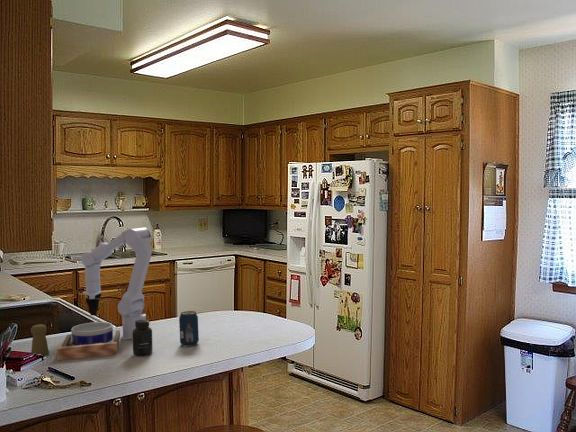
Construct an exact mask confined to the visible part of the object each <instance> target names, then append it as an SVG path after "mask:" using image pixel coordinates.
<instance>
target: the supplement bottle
mask: <svg viewBox="0 0 576 432" xmlns="http://www.w3.org/2000/svg"><path fill="white" fill-rule="evenodd" d="M135 327H136V328H135V329H134V330H133V339H132V354H133V356H134V357H148V356H151V355H152V354H153V351H154V350H153V348H154V347H153V346H154V345H153V329H152V327H150V320H149V319H146V320H137V321H135Z"/></svg>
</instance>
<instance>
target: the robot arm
mask: <svg viewBox="0 0 576 432" xmlns="http://www.w3.org/2000/svg"><path fill="white" fill-rule="evenodd" d="M152 240H153V234H152V233H151V231H150V229H148V227H146V226H142V227H137V228H127V229H126V230H124V231H122V232H121V233H120V234H119V235H117V236H116V237H115V238H113V239H112V240H110V241H109V242H100V243H99V244H98V246H96V247H95V248H94V247H93V248H91V249H90V251H85V252H84V253H83V254H82V255H81V258H80V261H81V263H82V264H83V266H84V274H85V275H84V277H85V291H83V292H82V294H83V295H87V298H86V297H85V299H84V300H85V303H86V304H87V306H88V311H89V314H90V316H97V313H98V311H99V304H100V300H101V298H102V297H101V296H102V288H101V287H102V286H101V270H100V269H101V267H102V266H101V264H102V262H103V260H105V259H107V258H108V257H110V256H112V255H113V253H114V251H115V249H117V248H119V247H121V246H123V245H125V244H126V245H128V246H129V248H130V249H132V251H133V252H134V253H135V254H136V256H135V259H134V264H133V267H132V272H131V276H130V279H129V283H128V286H127V290H126V292H125V293H124V294H123V295H122V297H121V299H120V301H119V302H118V304H117V311H118V313H119V314H120V316H121V318H122V319H121V321H122V334H121V340H122V341H123V340H133V330H134V329H135V328H136V327H135V321H137V320H147V315H146V313H143V312H142V311H143V309H144V308H145V297H146V296H145V295H144V294H143V293H142V292H143V289H144V284H145V280H146V277H147V273H148V269H149V265H150V261H151V258H152V257H151V256H152V254H153V249H152V248H153V247H152Z"/></svg>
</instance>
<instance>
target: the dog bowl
mask: <svg viewBox="0 0 576 432" xmlns="http://www.w3.org/2000/svg"><path fill="white" fill-rule="evenodd" d="M113 326H114V325H113V324H112V323H111V322H107V321H94V322H85V323H81V324H78V325H74V326H72V327H71V329H70V332H71V343H72V346H77V345H88V344H99V343H108V342H110V341H111V342H113V341H114V331H113V330H114V329H113V328H114V327H113Z"/></svg>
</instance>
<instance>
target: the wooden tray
mask: <svg viewBox="0 0 576 432" xmlns="http://www.w3.org/2000/svg"><path fill="white" fill-rule="evenodd" d="M120 336H121V331H120V329H118V330H115V334H114V337H113V341H111V342H109V343H99V344H88V345H77V346H75V345H70V344H71V342H72V334H66V336H65V338H64V340H63V343H61V345H60V346H58V347H57V348H56V361H60V360H61V361H62V360H74V359H81V358H93V357H103V356H104V357H105V356H113V355H118V351H119V343H120ZM69 343H70V344H69Z"/></svg>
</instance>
